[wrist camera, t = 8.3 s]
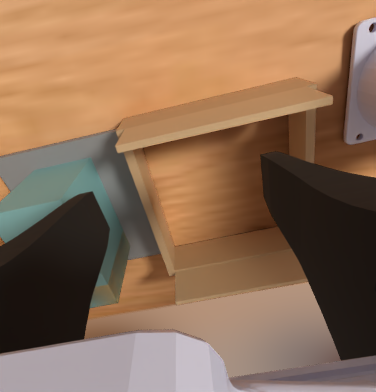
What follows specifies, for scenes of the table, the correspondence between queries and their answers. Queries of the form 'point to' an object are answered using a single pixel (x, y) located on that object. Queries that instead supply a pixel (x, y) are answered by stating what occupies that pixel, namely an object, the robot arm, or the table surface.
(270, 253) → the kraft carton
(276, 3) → the table surface
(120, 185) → the slate mat
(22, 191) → the teal box
